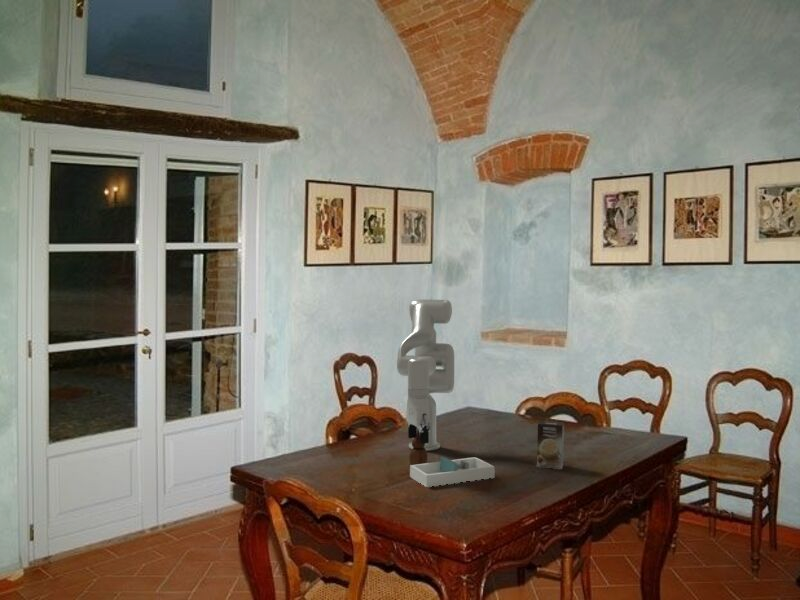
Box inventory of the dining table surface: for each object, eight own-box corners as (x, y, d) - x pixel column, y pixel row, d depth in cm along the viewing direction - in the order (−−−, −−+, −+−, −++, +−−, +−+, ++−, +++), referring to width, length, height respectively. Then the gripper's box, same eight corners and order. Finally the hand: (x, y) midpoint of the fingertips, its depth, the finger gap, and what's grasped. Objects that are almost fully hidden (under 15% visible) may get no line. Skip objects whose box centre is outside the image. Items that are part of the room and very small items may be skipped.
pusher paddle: (440, 470, 245) (440, 456, 245) (458, 467, 248) (459, 454, 248) (453, 478, 236) (453, 463, 236) (473, 475, 239) (473, 461, 239)
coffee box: (536, 467, 254) (536, 423, 253) (538, 462, 260) (539, 419, 259) (562, 470, 251) (562, 425, 250) (563, 465, 257) (564, 421, 256)
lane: (410, 476, 242) (410, 465, 242) (475, 468, 253) (475, 457, 253) (426, 487, 231) (426, 475, 230) (494, 478, 241) (494, 466, 241)
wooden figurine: (420, 472, 248) (420, 430, 247) (406, 469, 251) (406, 428, 251) (430, 467, 254) (430, 426, 253) (416, 465, 257) (416, 424, 256)
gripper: (399, 390, 258) (398, 436, 258) (419, 397, 242) (419, 446, 242) (417, 389, 261) (417, 435, 261) (438, 395, 245) (438, 444, 245)
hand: (418, 440), depth 251 cm, fingers open, 9 cm apart
